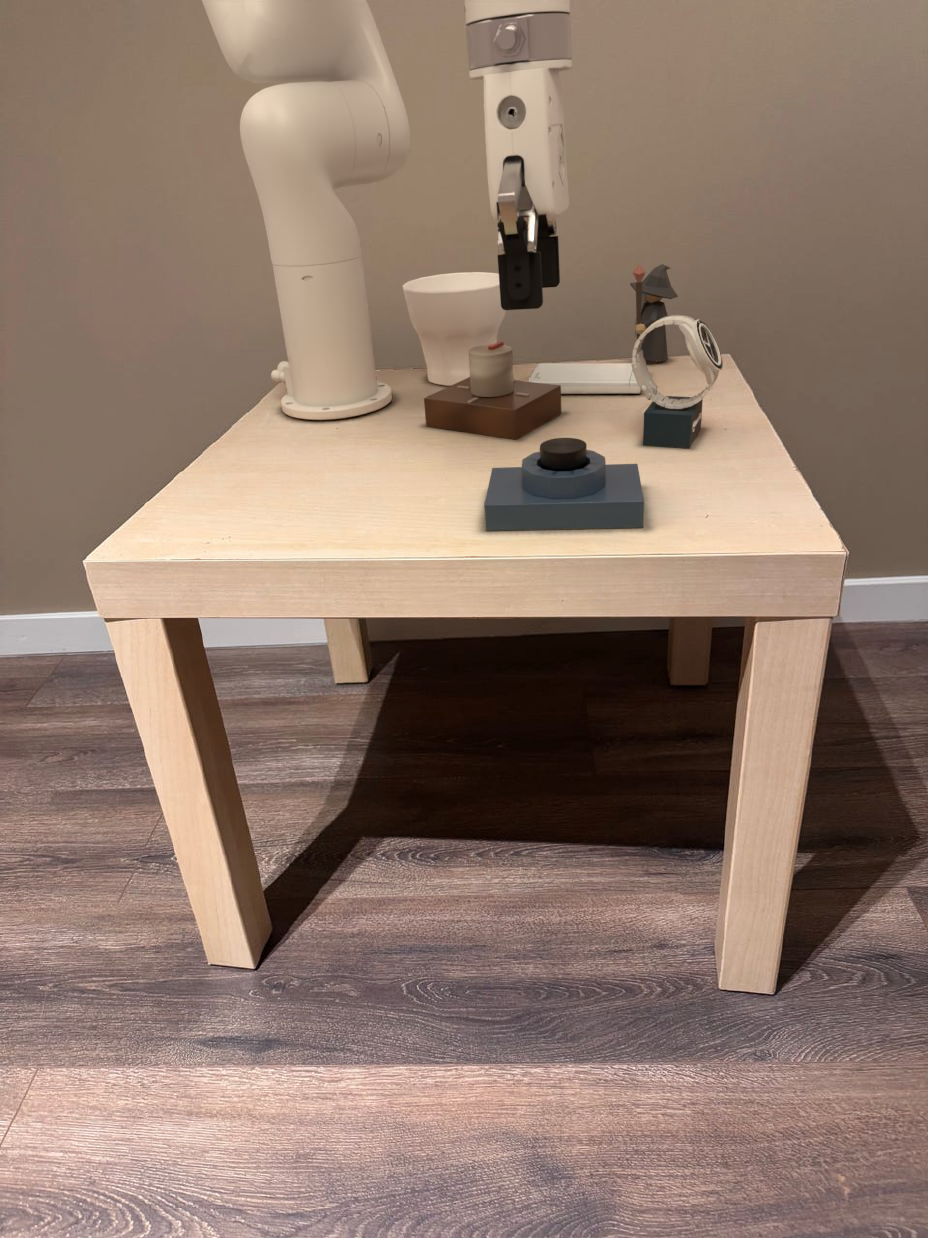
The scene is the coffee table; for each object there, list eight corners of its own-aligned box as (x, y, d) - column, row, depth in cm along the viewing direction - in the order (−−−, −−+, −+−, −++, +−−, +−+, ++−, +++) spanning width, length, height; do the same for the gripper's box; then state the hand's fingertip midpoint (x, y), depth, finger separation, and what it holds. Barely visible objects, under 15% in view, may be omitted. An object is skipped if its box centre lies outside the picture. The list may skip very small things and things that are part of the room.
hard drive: (526, 381, 100) (640, 380, 97) (538, 362, 107) (645, 360, 104) (527, 396, 101) (640, 395, 98) (539, 376, 108) (644, 374, 105)
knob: (499, 399, 90) (497, 353, 88) (462, 394, 92) (459, 350, 90) (521, 387, 93) (520, 342, 91) (485, 383, 95) (483, 339, 93)
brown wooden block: (426, 426, 94) (423, 396, 92) (474, 402, 100) (472, 373, 99) (516, 439, 88) (515, 408, 87) (561, 413, 94) (560, 383, 93)
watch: (711, 449, 82) (720, 325, 76) (624, 444, 85) (626, 323, 79) (721, 430, 86) (730, 311, 81) (638, 425, 89) (641, 310, 84)
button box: (485, 531, 70) (482, 482, 68) (493, 492, 77) (491, 446, 75) (643, 527, 68) (644, 478, 66) (636, 488, 75) (638, 442, 73)
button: (539, 475, 69) (539, 453, 69) (541, 459, 73) (540, 438, 72) (586, 474, 69) (586, 452, 68) (586, 457, 72) (586, 436, 71)
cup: (415, 366, 116) (406, 275, 110) (512, 360, 115) (508, 268, 109) (407, 393, 105) (396, 294, 99) (514, 387, 104) (509, 287, 99)
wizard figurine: (629, 355, 113) (631, 253, 107) (674, 354, 112) (679, 251, 106) (627, 373, 106) (629, 264, 100) (676, 372, 105) (681, 262, 99)
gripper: (554, 36, 57) (564, 315, 65) (584, 51, 72) (589, 277, 80) (440, 50, 59) (464, 320, 67) (492, 62, 74) (506, 282, 82)
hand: (532, 297), depth 74 cm, fingers open, 9 cm apart
